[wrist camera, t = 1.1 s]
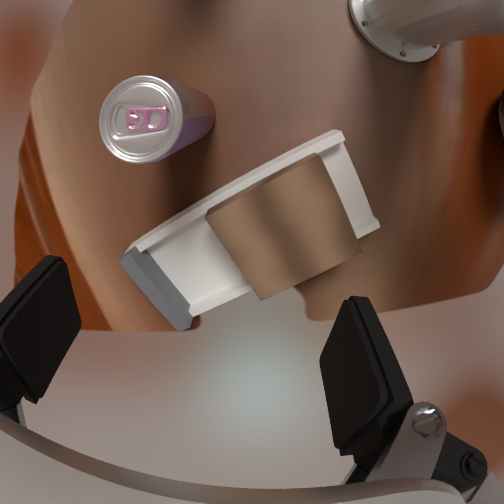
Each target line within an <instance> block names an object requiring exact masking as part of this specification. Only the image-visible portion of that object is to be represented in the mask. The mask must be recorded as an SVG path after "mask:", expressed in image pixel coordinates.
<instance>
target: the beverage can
mask: <svg viewBox="0 0 504 504" xmlns="http://www.w3.org/2000/svg"><path fill="white" fill-rule="evenodd" d="M214 121H215V108H214V105H213V102H212V101H211V99H210V98H209V97H208V96H207V95H206V94H205V93H203V92H201V91H199V90H196V89H194V88H192V87H189V86H187V85H184V84H182V83H180V82H177V81H175V80H172V79H169V78H167V77H164V76H161V75H156V74H146V75H140V76H135V77H131V78H129V79H127V80H125V81H123V82H121V83H120V84H118V85H117V86H116V87H115V88H114V89H113V90H112V91H111V92H110V93H109V95H108V96H107V97H106V99H105V101H104V103H103V105H102V108H101V111H100V117H99V129H100V134H101V138H102V140H103V142H104V144H105V146H106V147H107V149H108V150H109V151H110V152H111V153H112V154H113V155H114V156H115V157H117V158H118V159H120V160H122V161H125V162H128V163H134V164H147V163H153V162H157V161H160V160H162V159H164V158H166V157H167V156H169V155H171V154H173V153H175V152H176V151H178V150H180V149H182V148H184V147H186V146H187V145H189V144H191V143H193V142H195V141H197V140H199V139H201V138H202V137H204V136H205V135H206V134H207V133H208V132H209V131H210V130H211V128H212V126H213V124H214Z"/></svg>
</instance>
